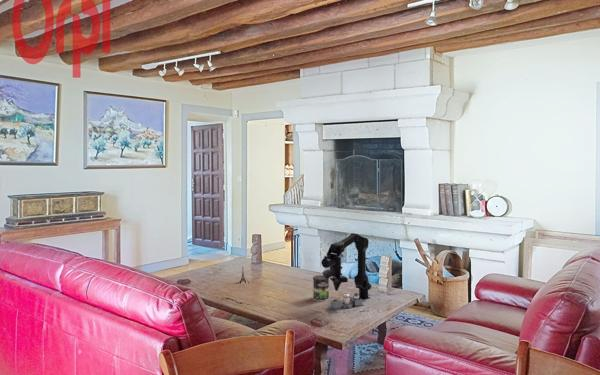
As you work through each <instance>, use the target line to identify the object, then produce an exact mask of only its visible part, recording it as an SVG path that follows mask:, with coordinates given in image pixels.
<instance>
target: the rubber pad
mask: <svg viewBox="0 0 600 375" xmlns="http://www.w3.org/2000/svg"><path fill="white" fill-rule="evenodd" d="M325 312H326V313H327V314H329V315H332V314H338V313H339V312H338V310H332V309H329V310H325Z"/></svg>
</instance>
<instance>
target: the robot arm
mask: <svg viewBox="0 0 600 375" xmlns="http://www.w3.org/2000/svg"><path fill="white" fill-rule="evenodd" d="M353 243H354V246H355V249H356V251H357V273H356V275H355V276H354V278H353V279H354V281H353V282H354V286H355V289H358V294H359V298H361V299H362V300H365V299H370V300H371V297H370V296H369V291H370V290H371V289H372V284H371V283H370V282H369V278H368V275H367V274H366V268H367V267H366V264H367V263H366V262H367V261H366V255H367V254H366V252H367V249H368V248H369V243H370V242H369V239H368V238H367V237H364V236H362V235H360V234H358V233H354V232H352V233H350V234H349V235H348V236H347V237H345V238H344V239H342V240H340V241H338V242H337V241H336V242H334V243H331V244H330V246H329V249H328V250H327V252H326V255H325V256H323V258H322V260H321V266H322V267H323V268H325V269H326V270H325V271H323V272H321V273H322V276H324V278H326V279H328V278H329V280H330V281H332V283H333V284H332V285H333V286H334V287H333V288H334V290H335V292H336V291H337V292H338V290H339V288H340V286H341V284H342V283H348V281H349V278H348V277H346V276H344V275H343V273H342V270H343V266H342V257H344V255H343V253H344V252H345V250H346V248H348V247H349V246H350V245H351V244H353ZM327 268H329V269H327Z"/></svg>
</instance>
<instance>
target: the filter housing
mask: <svg viewBox="0 0 600 375" xmlns="http://www.w3.org/2000/svg"><path fill="white" fill-rule="evenodd" d="M364 306H365V304H363V299H361V298H359V299H358V300H355V299H354V297H351V298H350V301H349V305H344V300H342V301H341V300H339V302H337V303H334V299H333V300H330V306H328V308H329V309H330V310H336V311H338V310H343V309H344V310H346V309H352V308H359V307H364Z"/></svg>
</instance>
